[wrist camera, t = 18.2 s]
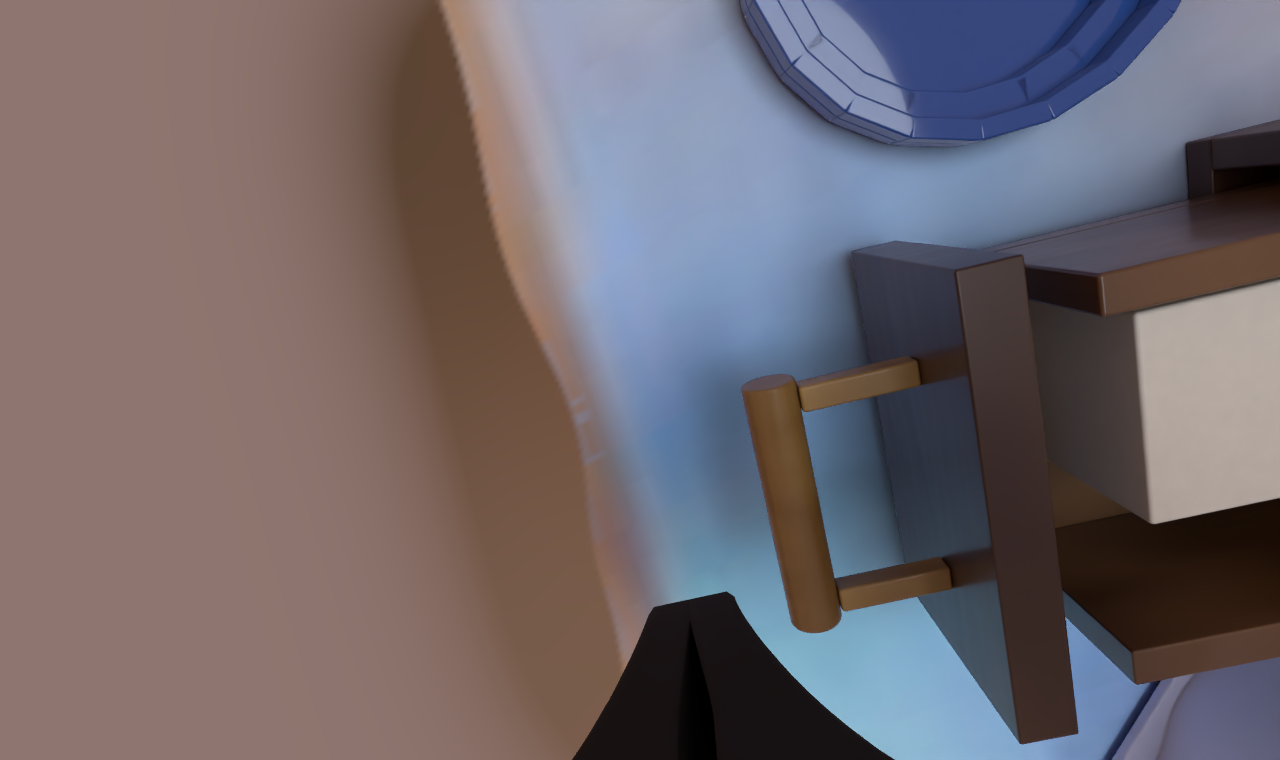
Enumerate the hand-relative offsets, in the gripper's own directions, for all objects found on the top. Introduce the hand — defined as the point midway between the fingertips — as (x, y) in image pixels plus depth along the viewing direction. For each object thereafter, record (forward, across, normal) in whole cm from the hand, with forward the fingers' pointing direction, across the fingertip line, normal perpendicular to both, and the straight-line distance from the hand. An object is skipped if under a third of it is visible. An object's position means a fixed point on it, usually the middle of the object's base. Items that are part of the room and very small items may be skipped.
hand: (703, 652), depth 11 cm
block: (+7, -11, -1) cm, 13 cm away
